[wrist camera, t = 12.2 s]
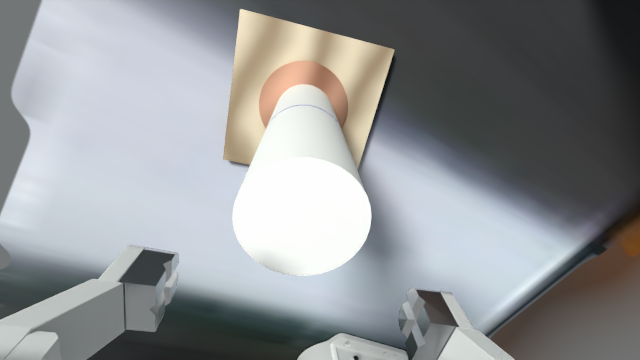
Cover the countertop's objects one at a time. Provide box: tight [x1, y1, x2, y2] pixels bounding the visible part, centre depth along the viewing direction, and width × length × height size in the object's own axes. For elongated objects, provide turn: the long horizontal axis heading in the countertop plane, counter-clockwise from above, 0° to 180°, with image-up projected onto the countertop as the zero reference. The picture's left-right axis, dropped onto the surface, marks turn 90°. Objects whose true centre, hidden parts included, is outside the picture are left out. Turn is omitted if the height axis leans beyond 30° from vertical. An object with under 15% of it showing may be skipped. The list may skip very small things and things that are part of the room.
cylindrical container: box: [232, 84, 372, 276], centre depth 27 cm, size 7×7×25 cm
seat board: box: [223, 9, 394, 170], centre depth 39 cm, size 18×18×2 cm
